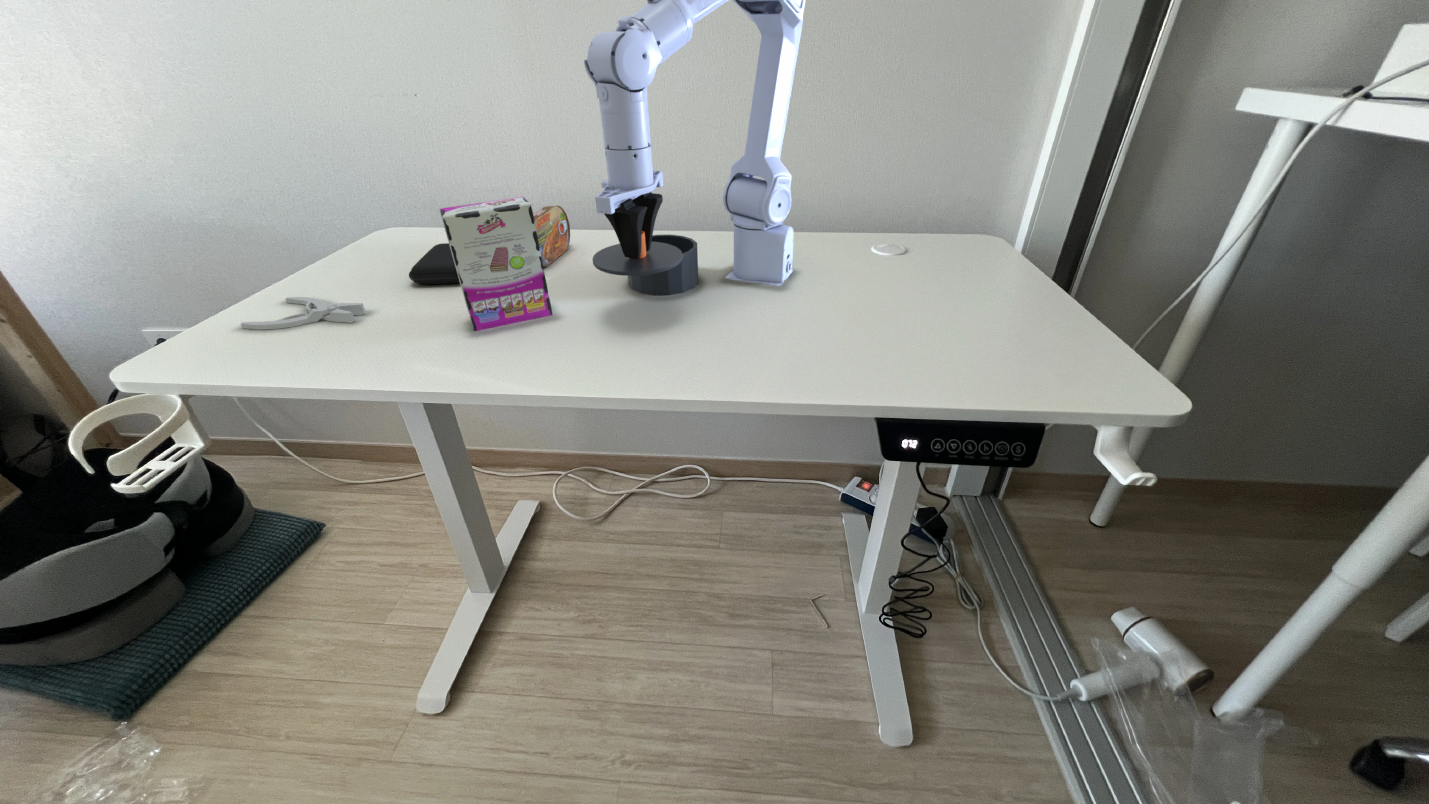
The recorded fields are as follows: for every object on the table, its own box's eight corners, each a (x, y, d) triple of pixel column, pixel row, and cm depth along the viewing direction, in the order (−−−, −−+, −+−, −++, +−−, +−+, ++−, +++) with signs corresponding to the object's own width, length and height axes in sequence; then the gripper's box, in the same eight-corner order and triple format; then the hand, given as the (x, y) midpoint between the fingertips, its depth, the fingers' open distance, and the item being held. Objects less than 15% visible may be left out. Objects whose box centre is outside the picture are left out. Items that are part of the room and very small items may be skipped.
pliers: (286, 291, 91) (376, 294, 90) (290, 300, 92) (379, 304, 91) (236, 318, 83) (334, 322, 81) (241, 328, 84) (338, 332, 82)
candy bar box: (545, 306, 89) (524, 195, 80) (554, 318, 85) (533, 203, 76) (468, 321, 85) (437, 206, 76) (474, 335, 81) (442, 215, 72)
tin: (539, 273, 100) (530, 224, 96) (522, 272, 101) (512, 223, 96) (574, 245, 113) (567, 200, 108) (558, 244, 113) (551, 199, 109)
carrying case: (474, 285, 96) (496, 255, 108) (469, 268, 94) (492, 239, 107) (407, 288, 96) (437, 257, 108) (402, 270, 94) (433, 240, 106)
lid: (696, 253, 83) (695, 223, 81) (659, 285, 74) (656, 252, 71) (620, 244, 87) (617, 215, 85) (576, 273, 78) (571, 241, 75)
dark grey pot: (708, 276, 98) (707, 238, 94) (681, 302, 89) (679, 261, 86) (648, 268, 102) (645, 231, 98) (616, 293, 93) (612, 253, 89)
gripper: (627, 134, 79) (636, 234, 87) (567, 155, 68) (583, 268, 75) (674, 137, 77) (679, 239, 84) (621, 159, 66) (632, 274, 73)
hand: (637, 253), depth 80 cm, fingers closed on lid, 2 cm apart
